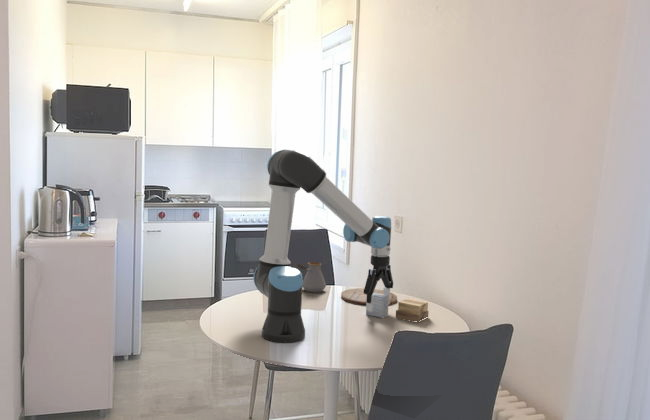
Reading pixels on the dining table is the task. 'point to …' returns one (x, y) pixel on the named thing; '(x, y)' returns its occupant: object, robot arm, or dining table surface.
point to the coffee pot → (313, 278)
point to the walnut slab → (411, 316)
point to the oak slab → (413, 306)
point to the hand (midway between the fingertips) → (378, 307)
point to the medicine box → (379, 306)
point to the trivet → (362, 296)
